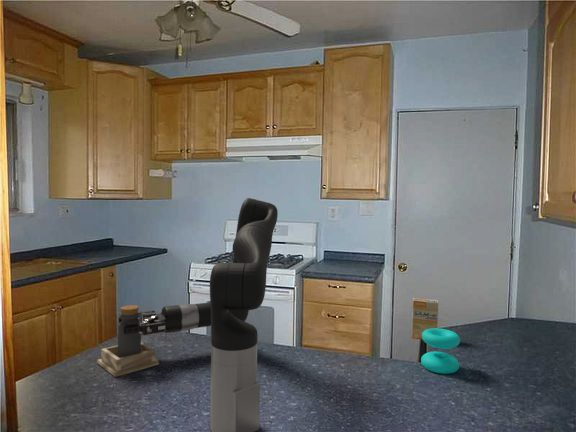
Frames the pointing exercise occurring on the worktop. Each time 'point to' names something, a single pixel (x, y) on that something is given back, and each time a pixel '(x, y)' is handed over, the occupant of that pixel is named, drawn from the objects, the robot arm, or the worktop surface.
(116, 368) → the bottle holder
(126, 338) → the bottle
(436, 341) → the donuts
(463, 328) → the worktop surface
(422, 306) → the supplement box
